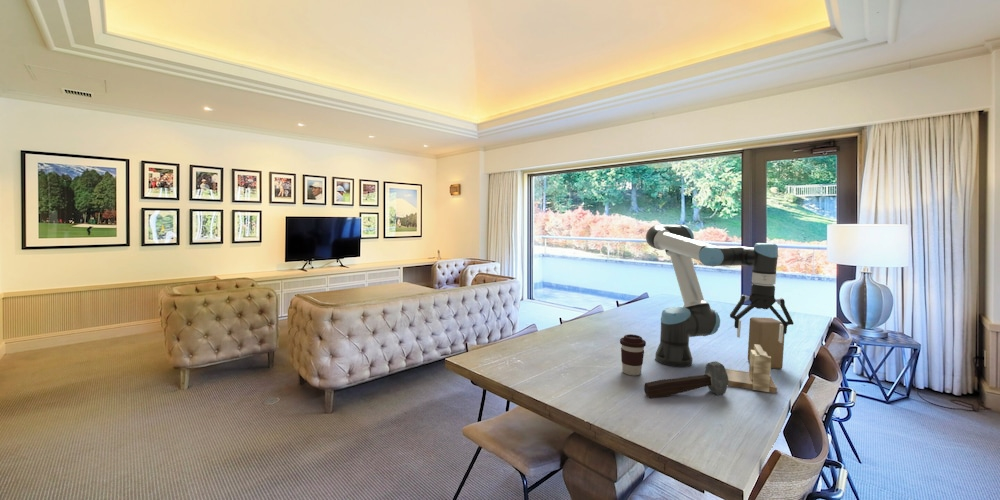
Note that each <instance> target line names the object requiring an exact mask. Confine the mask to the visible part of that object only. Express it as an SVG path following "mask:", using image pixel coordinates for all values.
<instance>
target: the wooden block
mask: <svg viewBox="0 0 1000 500" xmlns="http://www.w3.org/2000/svg"><path fill="white" fill-rule="evenodd" d="M780 324H783V323H782V322H781V321H780V320H779V319H778V320H777V319H775V318H773V317H756V316H755V317H754V316H753V317H750V318H749V324H748V325H749V328H748V343H747V345H748V346H747V347H748V348H747V360H748V361H747V362H749V363H750V350H755V349H754V344H758V345H760V346H761V347H762V349H763V351H766V353H767V355H768V356H770V357H771V369H772V368H773V369H777V370H780V369H783V365H784V351H785V350H784V348H785V347H784V346H785V335H786V334H783V341H782V343H780V342H779V341H778V340H779V328H780Z"/></svg>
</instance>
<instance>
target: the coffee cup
mask: <svg viewBox="0 0 1000 500" xmlns="http://www.w3.org/2000/svg"><path fill="white" fill-rule="evenodd" d="M646 343H647V342H646V340H645V339H643V338H642V336H641V335H637V334H631V333H630V334H625V335H624V336H623V337H621V338H620V340H619V344H620V345H621V347H620V352H621V354H620V355H621V359H620V360H621V367H622V369H621V370H622V372H623V373H624V374H625V375H629V376H634V377H636V376H640V375H641V374H642V368H643V363H644V356H645V347H646V345H647V344H646Z"/></svg>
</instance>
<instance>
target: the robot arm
mask: <svg viewBox="0 0 1000 500" xmlns="http://www.w3.org/2000/svg"><path fill="white" fill-rule="evenodd" d="M645 241H646V244H647V245H649V246H650V247H651V248H653V249H656V250H659V251H665V255H666V256H668V257H670V259H671V262H672V266H673V267H672V268H673V269H674V274H675V276H676V281H677V283H678V287H679V290H680V294H681V297H682V301H683V304H684V305H683V307H682V306H681V307H680V306H677V307H676V306H674V307H672V306H671V307H668V308H665V309H663V310H662V312H661V317H660V334H659V335H660V337H659V344H658V346H657V349H656V351H655V361H657V362H658V363H660V364H662V365H666V366H670V367H680V368H684V367H685V368H686V367H690V366H692V365H693V356H692V352H691V348H690V345H689V344H690V338H695V337H706V336H707V337H708V336H713V335H715V334H716V333H717V332H718V331H719V328H720V326H721V318H720V315H719V313H718V312H717V311H716V310H714V309H713V308H711V305H710V302H707V301H706V300H705V299H704V298H705V297H704V295H703V292H702V289H701V285H700V283H699V279H698V276H697V273H696V270H695V269H696V268H695V266H694V262H693V260H696V261H700V263H701V264H702V265H703V266H706V267H713V268H714V267H726V266H727V267H729V266H732V267H733V266H741V267H743V266H744V267H750V268H751V267H752V273H751V274H752V275H751V282H752V284H751V287H750V295H749V296H748V295H744V294H741V295H740V299H739V300H738V302H737V304H736V305H735V307H733V310H732V311H731V312H730V313H729V316H730V317H729V318H730V319H733V320H734V329H737V330H736V337H737V338H739V339H740V338H741V331H742V330H741V328H742V320H741V319H742V318H743V317H744V316H745V315H747V314H748V313H749V312H750V311H751V310H752V309H754V308H756V309H758V310H759V309H760V310H761V309H763V310H768V309H769V310H770V311H771V312H772V313H773V314H774V316H776V318H777V319H778V321H780V322H782V323H783V324H780V328H779V340H778V341H779V342H780V343H782V341H783V334H785V335H787V333H788V332H787V331H788V326H789V325H792V326H793V325H794V321H793V319H792V317H791V315H790V312H789V311H788V308H787V307H786V304H785V303H786V302H785V299H784V298H782V297H780V298H776V297H775V293H776V286H775V285H776V281H777V267H778V266H777V265H778V260H779V246H778V245H777V244H776V243H767V242H757V243H755V244H754V245H753V247H749V246H741V245H731V246H717V245H713V244H710V243H706V242H702V241H700V240H696V239H695V235H694V233H693V231H692V229H691V228H690V227H689V226H687V225H684V224H677V223H676V224H655V225H653V226H651V227H650V228H649V229H648V230H647V232H646V235H645ZM748 300H749V302H750V303H749V304H748V305H747V306H746V307H745V308H744V309H742V310H741V308H742V306H743V305H744V303H745V302H747V301H748ZM775 303H777V304H778V306H780V309H781V310H782V313H783V314H784V316H785V318H786V320H785V319H784V318H783V316H781V314H779V312H778V311H777V309H776V308H775V307H774V306H773V305H774V304H775ZM739 310H741V311H739ZM738 312H739V313H738Z"/></svg>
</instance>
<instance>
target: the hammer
mask: <svg viewBox="0 0 1000 500" xmlns="http://www.w3.org/2000/svg"><path fill="white" fill-rule="evenodd" d="M725 368H726V367H725V366H724V365H723V364H722V363H721V362H718V361H710V362H707V363H706V366H705V368H704V369H705V370H704V374H701V375H692V376H683V377H673V378H672V377H671V378H665V379H659V380H654V381H649V382H644V385H643V391H644V394H645V395H646V397H648V398H649V399H657V398H659V399H660V398H665V397H670V396H673V395H678V394H681V393H685V392H690V391H693V390H697V389H701V388H705V387H707V388H708V390H709V391H711V392H712V393H714V394H715V395H717V396H723V395H724V394H725V393H726V392H727V388H728V376H727V372H726V370H725Z"/></svg>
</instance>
